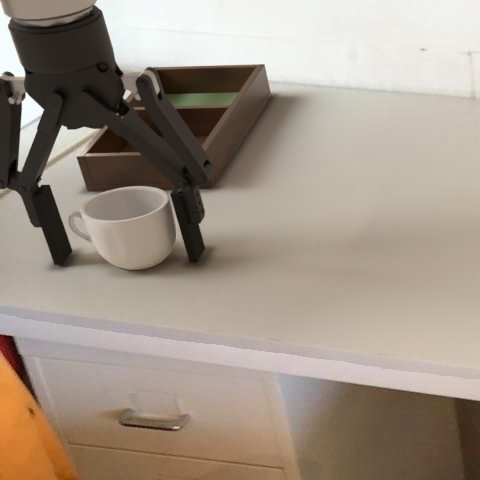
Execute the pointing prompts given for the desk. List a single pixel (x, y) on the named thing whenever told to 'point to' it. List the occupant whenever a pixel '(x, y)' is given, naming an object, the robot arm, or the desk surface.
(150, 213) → the teacup
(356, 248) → the desk surface
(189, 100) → the wooden compartment tray
